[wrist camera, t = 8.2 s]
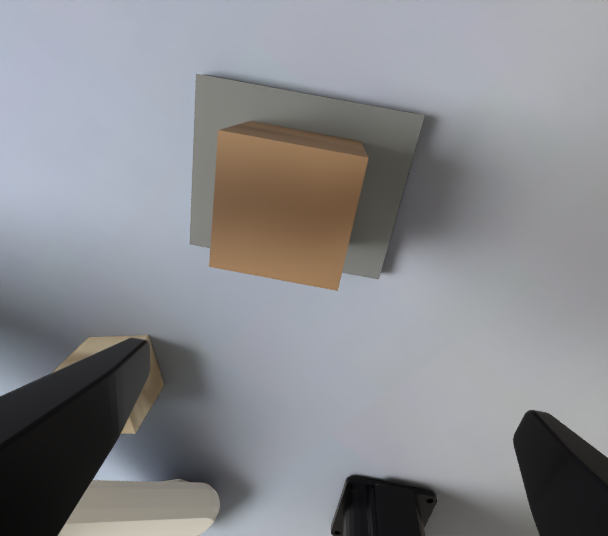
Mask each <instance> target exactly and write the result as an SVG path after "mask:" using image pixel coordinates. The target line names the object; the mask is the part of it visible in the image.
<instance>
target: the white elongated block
mask: <svg viewBox="0 0 608 536" xmlns="http://www.w3.org/2000/svg"><path fill="white" fill-rule="evenodd" d="M219 511H220V500H219V496H218V494H217V492H216V491H215V490H214V489H213V488H212V487H211V486H210V485H209V484H206V483H197V482H188V481H185V480H181V479H174V480H167V481H162V482H150V481H103V480H92V482H91V483H90V485H89V486H88V488H87V490H86V491H85V493H84V494H83V496H82V498H81V499H80V501H79V503H78V504H77V506H76V507H75V509H74V511H73V512H72V514H71V515H70V517H69V519H68V520H67V522H66V523H65V525H64V527H63V528H62V530H61V531H60V533H59V535H58V536H199V535H200V534H201V533H203V532H204V531H205V530H207V529H208V528H209V527H210V526H211V525H212V524H213V523H214V521H215V519H216V517H217V515H218V513H219Z"/></svg>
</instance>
